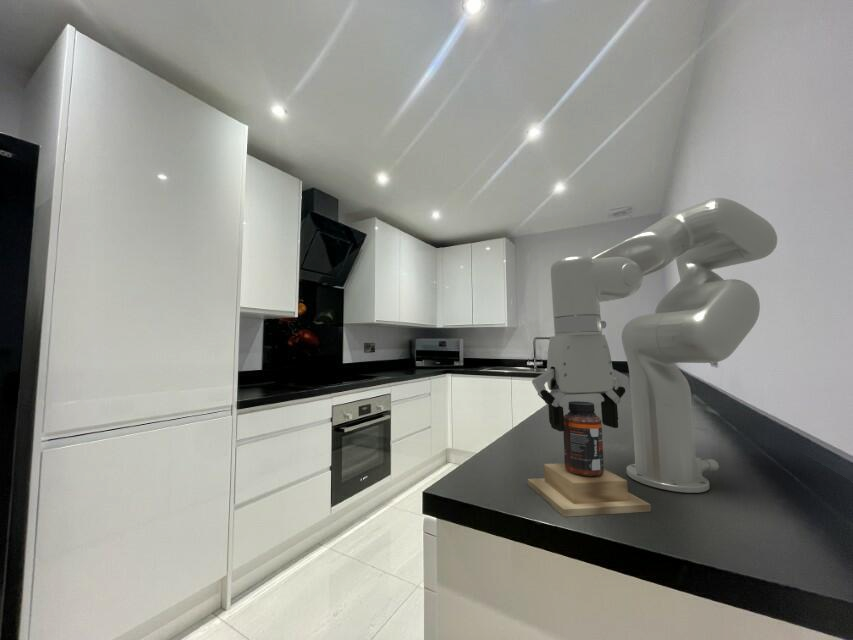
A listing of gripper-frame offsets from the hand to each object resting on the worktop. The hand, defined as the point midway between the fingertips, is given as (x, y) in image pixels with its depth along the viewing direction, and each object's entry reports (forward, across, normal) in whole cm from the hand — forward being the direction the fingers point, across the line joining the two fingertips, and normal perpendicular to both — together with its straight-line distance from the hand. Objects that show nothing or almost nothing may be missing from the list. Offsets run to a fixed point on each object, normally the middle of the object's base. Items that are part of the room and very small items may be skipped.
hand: (584, 427), depth 56 cm
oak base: (+11, +1, 0) cm, 11 cm away
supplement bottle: (+7, +1, 0) cm, 7 cm away
